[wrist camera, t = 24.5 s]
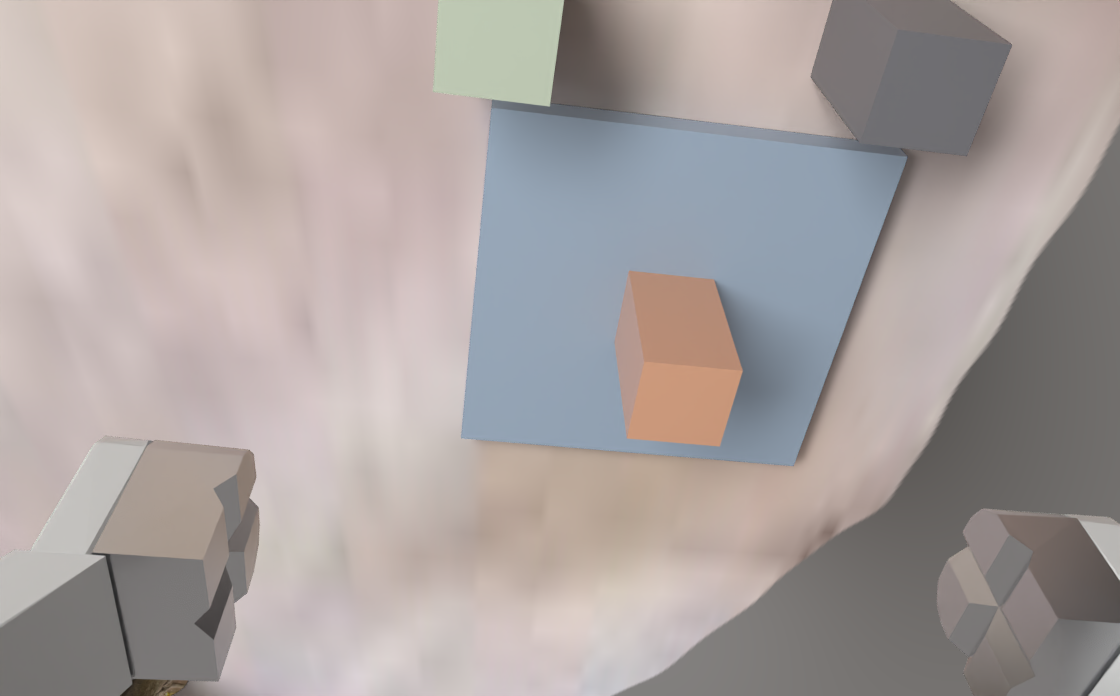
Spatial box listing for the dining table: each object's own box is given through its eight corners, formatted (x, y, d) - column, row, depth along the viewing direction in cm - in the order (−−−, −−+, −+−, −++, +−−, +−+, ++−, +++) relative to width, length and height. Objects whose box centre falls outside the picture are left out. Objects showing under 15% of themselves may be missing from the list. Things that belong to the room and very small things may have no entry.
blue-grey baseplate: (492, 96, 44) (491, 107, 42) (897, 144, 45) (907, 156, 44) (462, 421, 55) (461, 438, 54) (787, 449, 57) (793, 466, 55)
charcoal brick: (839, -23, 41) (898, 29, 34) (935, -10, 41) (1012, 44, 35) (810, 76, 43) (859, 142, 37) (901, 88, 44) (966, 155, 37)
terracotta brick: (628, 270, 47) (644, 361, 41) (714, 279, 48) (742, 370, 41) (614, 342, 50) (626, 438, 43) (695, 349, 50) (719, 446, 44)
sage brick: (455, -76, 39) (440, -32, 33) (560, -61, 40) (566, -14, 33) (448, 30, 42) (433, 91, 35) (546, 44, 42) (549, 106, 36)
